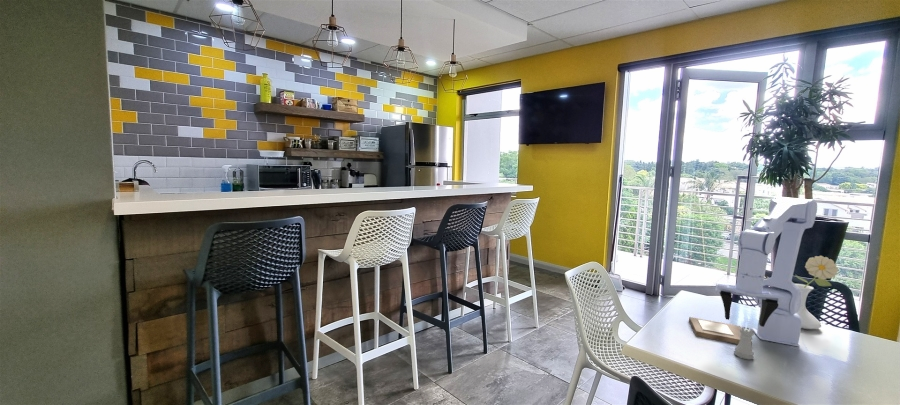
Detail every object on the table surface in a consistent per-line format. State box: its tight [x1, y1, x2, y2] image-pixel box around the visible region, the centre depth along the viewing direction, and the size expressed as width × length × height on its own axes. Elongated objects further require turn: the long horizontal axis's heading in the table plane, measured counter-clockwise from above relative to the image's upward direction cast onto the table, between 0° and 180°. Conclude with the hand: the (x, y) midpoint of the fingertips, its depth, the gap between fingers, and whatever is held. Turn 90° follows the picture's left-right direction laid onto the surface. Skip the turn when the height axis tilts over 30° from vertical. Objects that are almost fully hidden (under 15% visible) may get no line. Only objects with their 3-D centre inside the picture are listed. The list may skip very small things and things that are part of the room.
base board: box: [688, 316, 753, 348], centre depth 118 cm, size 14×12×2 cm
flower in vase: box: [794, 255, 839, 330], centre depth 125 cm, size 13×11×25 cm
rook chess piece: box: [733, 326, 755, 361], centre depth 104 cm, size 4×4×8 cm
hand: (743, 321), depth 103 cm, fingers open, 7 cm apart
